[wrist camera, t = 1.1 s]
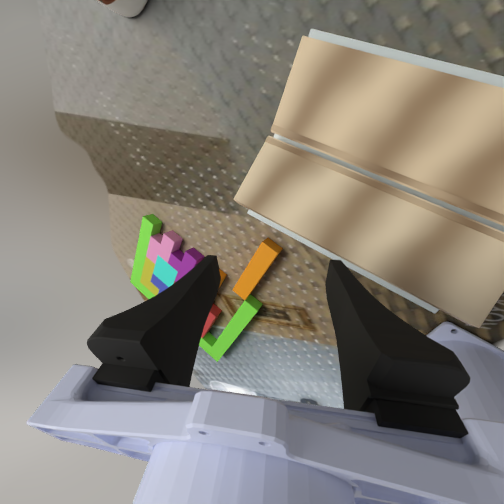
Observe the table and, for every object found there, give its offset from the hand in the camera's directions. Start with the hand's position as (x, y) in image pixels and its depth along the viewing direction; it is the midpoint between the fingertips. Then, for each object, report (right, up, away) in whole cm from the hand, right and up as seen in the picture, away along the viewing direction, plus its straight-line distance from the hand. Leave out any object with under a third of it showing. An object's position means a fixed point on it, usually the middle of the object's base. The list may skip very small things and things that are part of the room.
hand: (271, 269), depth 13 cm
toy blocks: (-10, -2, +21) cm, 23 cm away
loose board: (+8, +4, +5) cm, 11 cm away
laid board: (+11, +11, +3) cm, 16 cm away
